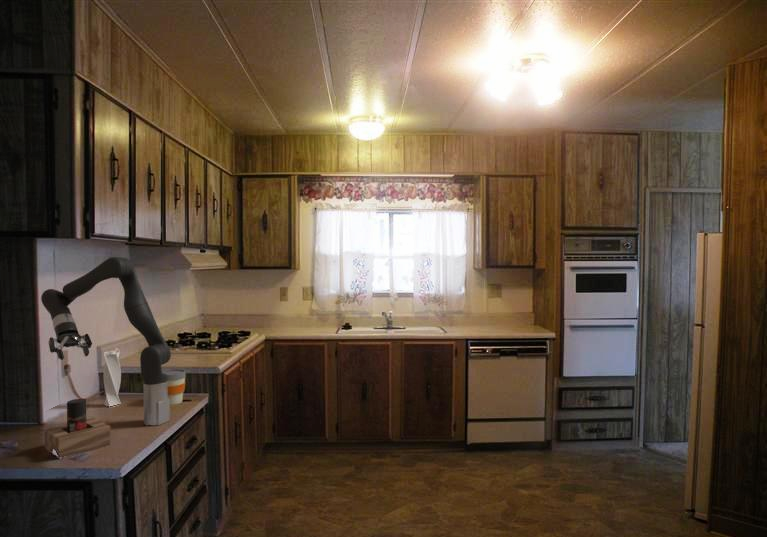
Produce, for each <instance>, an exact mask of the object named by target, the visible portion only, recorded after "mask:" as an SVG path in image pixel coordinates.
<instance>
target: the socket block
mask: <svg viewBox="0 0 767 537" xmlns="http://www.w3.org/2000/svg"><path fill="white" fill-rule="evenodd" d="M107 445H108V446H110V445H111V426H110V425H109V424H106V423H105V422H103V421H101V420H99V419H97V418H95V417H92V418H86V429H84V430H80V431H76V432H72V433H67V423H66V424H62V425H58V426H54V427H50V428H46V429H44V450H46V451H47V452H49V454H51V453H52V451H53V449H54V450H55V451H56V453H57V455H58V457H59V458H60V457H64V456H69V455H73V454H76V455H79V454H78V453H80V454H83V453H87V452H90V451H93V450H97V449H100V447H101V448H103V446H104V447H107ZM73 456H74V455H73ZM69 457H70V456H69Z"/></svg>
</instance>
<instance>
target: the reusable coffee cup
mask: <svg viewBox="0 0 767 537" xmlns="http://www.w3.org/2000/svg"><path fill="white" fill-rule="evenodd" d="M162 373H164V374H167V385H168V399H169V400H170V406H171V405H172V406H173V405H177V404H180V403H182V402H183V400H184V398H183V397H184V392H185V389H186V377H187V374H186V370H185V369H168V370H163V371H162Z"/></svg>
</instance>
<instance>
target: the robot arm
mask: <svg viewBox="0 0 767 537" xmlns="http://www.w3.org/2000/svg"><path fill="white" fill-rule="evenodd" d="M110 279H119V282H120V283H121V286H122V287H123V288H122V289H123V291H124V292H123V293H124V296H123V297H124V299H123V310H124V312H125V314H126V316H127V318H128V321H129V322H130V324H131V325H132V326H133V327H134V329H136V330H137V331H138V333H140V334H141V335H142V336H143V337H144V339H145V340H146V344H147V345H148V346H146V347H145V348H143V350H142V351H141V353H140V356H139V357H140V358H139V360H140V362H139V363H140V364H139V365H140V375H141V378H142V382H143V425H144V424H145V425H144V426H149V425H151V426H160V425H162V424H165V423H168V422H169V421H170V419H171V418H170V417H171V416H170V414H171V413H170V412H171V409H170V407H171V405H170V400H169V399H168V385H167V374H164V373H162V372H163V371H162V370H163V369H162V365H164V364H167V363H169V361H171V360H170V359H171V356H172V354H171V352H172V351H171V349H170V347H169V345H168V343H167V341H166V340H165V338H164V337H163V335H162V333H161V331H160V328H159V326H158V324H157V322H156V320H155V317H154V315H153V313H152V309H151V307H150V305H149V303H148V300H147V299H146V297H145V294H144V291H143V289H142V287H141V284H140V281H139V278H138V275H137V272H136V268H135V264H133V262H132V261H131V259H129V258H127V257H119V256H112V257H108V258H107V259H105V260H103V261H102V263H100V264H99V265H97V266H96V267H95V268H93V269H92V270H90V271H89V272H87V273H85V274H84V275H82V276H80V277H78V278H76V279H74V280H72V281H70V282H68V283H65V285H64V286H63V287H62V288H61V289H62V291H60V290H58V289H54V288H48V289H46V290H44V291H43V292H42V294H41V298H40V299H41V300H40V301H41V303H42V305H43V307H44V309H45V310H46V311H47V312H48V313H49V315H50V318H51V321H52V327H53V331H54V333H55V335H56V337H55V338H54V337H53V336H51V337H50V338H48V339H49V340H48V342H47V343H48V347H49V352H50V353H52V354H53V353H56V354H57V358H58V359H60V360H61V361H63V360H64V358H65V356H64V352H63V349H64V347H65V348H70V347H77V348H80V349H82V351H83V355H84V357H88V355H90V350H89V349H91V347H92V345H93V342H92V340H91V337H90V335H89V334H88V333H85V334H83V335H80V333H79V330H78V326H77V325H76V321H75V319H74V317H73V315H72V312H71V309H70V308H69V305H70V304H72V302H74V301H75V300H76V299H77V298H79V297H81V296H82V295H85V294H86V293H89V292H90V291H92V290H93V289H94V288H95V287H96V285H98V284H100V283H101V282H103V281H105V280H110ZM56 343H58V344H59V345H58V346H57V347H56V345H55V344H56Z"/></svg>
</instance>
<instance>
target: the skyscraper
mask: <svg viewBox="0 0 767 537" xmlns="http://www.w3.org/2000/svg"><path fill="white" fill-rule="evenodd" d="M117 350H118V351H117ZM120 354H121V350H120V348H119V347H118V348H115V350H110V351H105V352H104V353H103V356H104V357H103V358H104V359H105V361H104V366H103V373H102V374H103V378H102V379H103V386H104V392H105V396H106V397H105V399H104V400H105V401H104V404H103V406H104V405H106V406H105V407H107V406H109V407H108V408H111V407H110V406H113V405H117V404H121V405H122V403H121V400H120V397H119V391H120V387H121V383H122V382H121V381H122V380H121V379H122V371H121V370H122V368H121V364H120V359H119V357H120ZM117 406H118V405H117ZM113 407H114V406H113Z"/></svg>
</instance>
